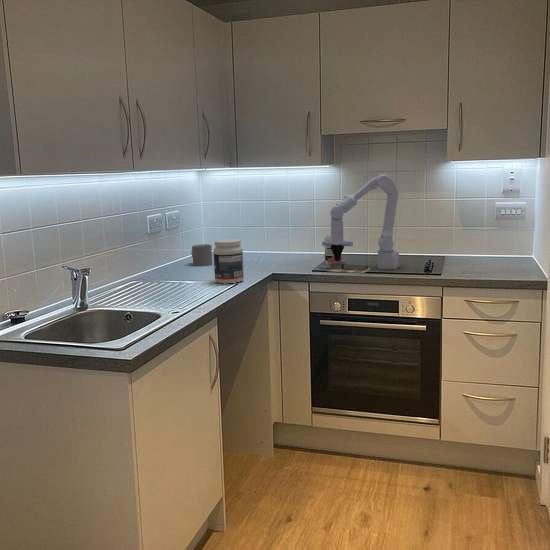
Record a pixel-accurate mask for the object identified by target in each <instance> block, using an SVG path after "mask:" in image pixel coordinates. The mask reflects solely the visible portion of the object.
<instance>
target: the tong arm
mask: <svg viewBox="0 0 550 550" xmlns="http://www.w3.org/2000/svg"><path fill="white" fill-rule="evenodd" d="M338 263H339V264H344V269H357V270H366V265H362V263H347V262H338Z"/></svg>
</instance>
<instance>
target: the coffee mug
mask: <svg viewBox="0 0 550 550" xmlns="http://www.w3.org/2000/svg"><path fill="white" fill-rule="evenodd" d="M212 247H213V246H212V244H208V243H206V244H205V243H204V244H194V245H192V246H191V257H192V266H194V267H209V266H212V265H213V251H212V250H213V249H212Z"/></svg>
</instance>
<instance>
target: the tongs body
mask: <svg viewBox="0 0 550 550" xmlns="http://www.w3.org/2000/svg"><path fill="white" fill-rule="evenodd" d="M361 264H362V263H361ZM362 265H366V270H367V269H368V268H369V264H366V263H365V264H364V263H363V264H362ZM330 269H344V264H339V263H332V264H331V265H330Z"/></svg>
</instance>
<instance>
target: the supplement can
mask: <svg viewBox="0 0 550 550" xmlns="http://www.w3.org/2000/svg"><path fill="white" fill-rule="evenodd" d="M323 241H331V234H326V235H325V237H324V240H323ZM333 245H341V244H333ZM328 258H335V257H334V254H333V252H332V250H331V246H324V264H325V265H327V266H328V265H330V266H331V264H332V263H328ZM342 258H343V257H342V254H341V257H340V261H339V262H342ZM334 263H338V262H336V261H335V262H334ZM342 263H343V262H342Z"/></svg>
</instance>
